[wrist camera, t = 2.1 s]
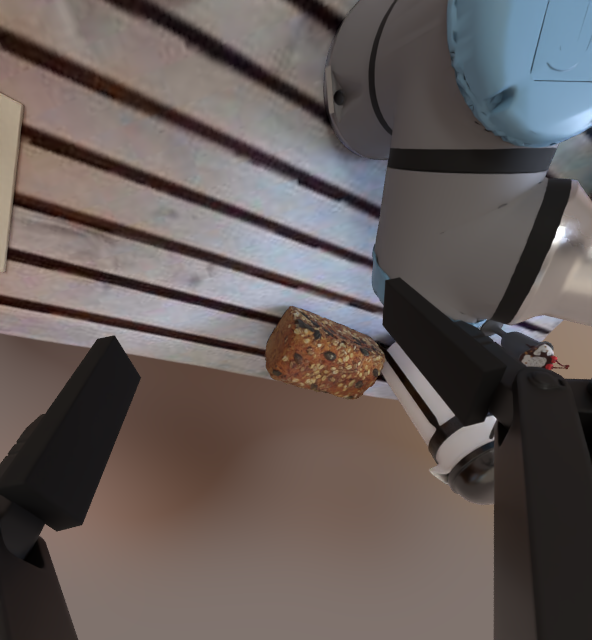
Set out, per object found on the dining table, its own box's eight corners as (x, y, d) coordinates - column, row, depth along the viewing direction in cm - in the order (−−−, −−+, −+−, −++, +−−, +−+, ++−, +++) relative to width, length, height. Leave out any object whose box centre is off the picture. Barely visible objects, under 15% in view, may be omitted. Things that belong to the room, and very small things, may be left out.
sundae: (505, 306, 56) (583, 354, 43) (508, 328, 59) (580, 378, 47) (474, 323, 56) (541, 374, 44) (479, 344, 60) (542, 396, 48)
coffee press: (408, 385, 63) (519, 542, 39) (354, 368, 57) (446, 542, 32) (462, 327, 57) (640, 473, 32) (408, 300, 50) (577, 454, 25)
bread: (261, 345, 50) (266, 386, 41) (290, 298, 46) (302, 332, 37) (342, 373, 57) (360, 412, 49) (373, 334, 53) (399, 369, 45)
